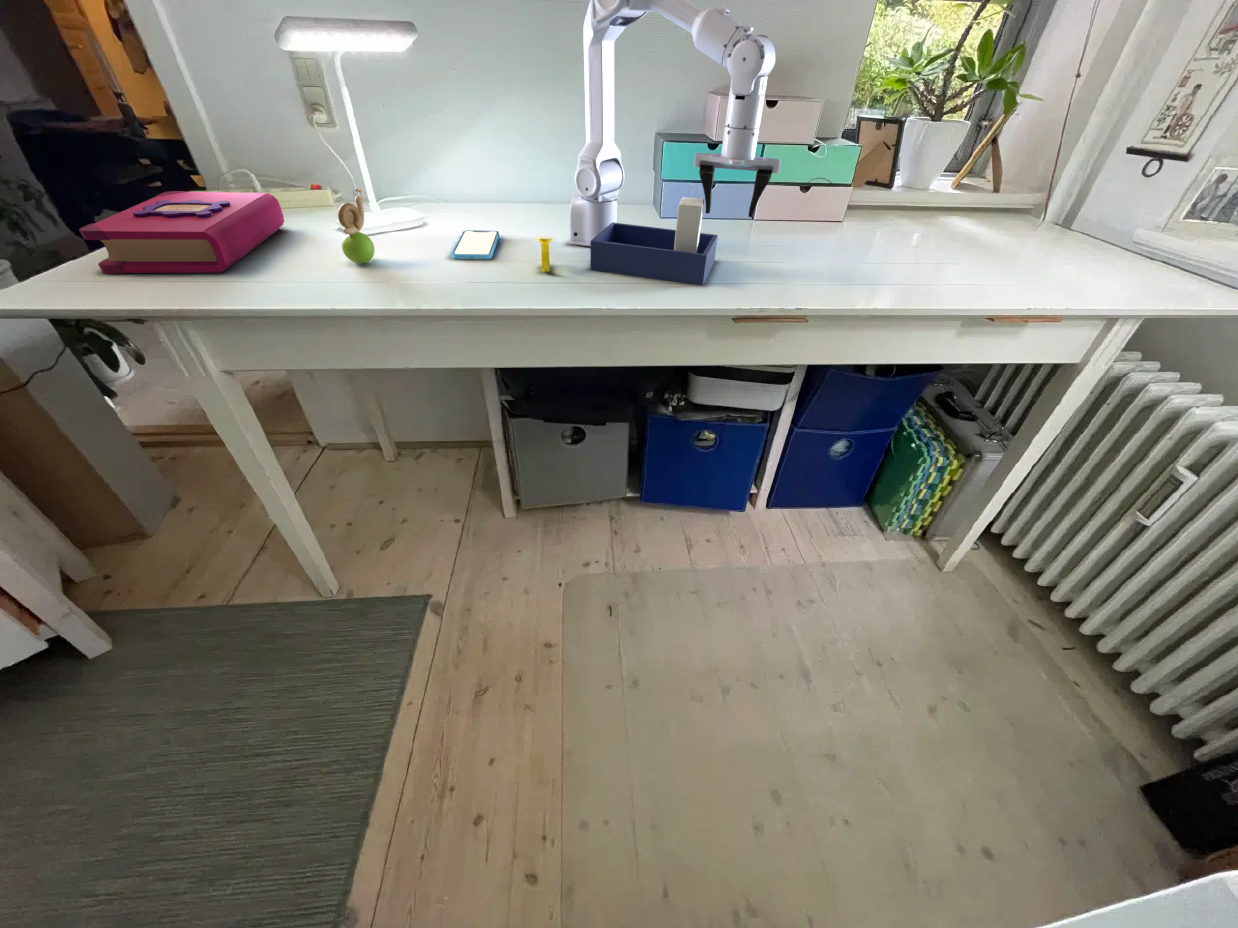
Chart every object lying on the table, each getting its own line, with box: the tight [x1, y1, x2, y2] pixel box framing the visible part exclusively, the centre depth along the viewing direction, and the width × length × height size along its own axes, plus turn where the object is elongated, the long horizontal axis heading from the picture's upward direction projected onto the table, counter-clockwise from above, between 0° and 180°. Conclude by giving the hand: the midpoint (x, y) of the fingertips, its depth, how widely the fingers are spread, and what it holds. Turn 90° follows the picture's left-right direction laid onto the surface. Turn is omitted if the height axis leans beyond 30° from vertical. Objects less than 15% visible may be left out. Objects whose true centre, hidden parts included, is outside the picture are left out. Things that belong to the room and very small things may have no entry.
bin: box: [589, 222, 719, 286], centre depth 105 cm, size 22×14×5 cm, turn 74°
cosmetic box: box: [674, 196, 705, 253], centre depth 102 cm, size 6×4×12 cm
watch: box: [536, 234, 553, 273], centre depth 101 cm, size 6×3×6 cm, turn 6°
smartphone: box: [451, 229, 500, 260], centre depth 112 cm, size 8×1×15 cm
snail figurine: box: [337, 188, 375, 264], centre depth 99 cm, size 5×6×12 cm
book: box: [78, 190, 285, 275], centre depth 103 cm, size 21×28×8 cm
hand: (729, 214), depth 100 cm, fingers open, 7 cm apart
